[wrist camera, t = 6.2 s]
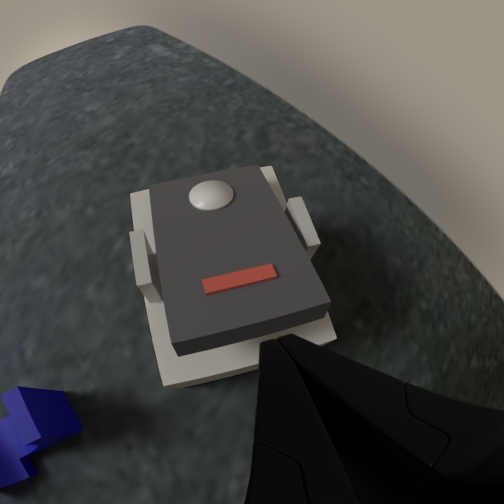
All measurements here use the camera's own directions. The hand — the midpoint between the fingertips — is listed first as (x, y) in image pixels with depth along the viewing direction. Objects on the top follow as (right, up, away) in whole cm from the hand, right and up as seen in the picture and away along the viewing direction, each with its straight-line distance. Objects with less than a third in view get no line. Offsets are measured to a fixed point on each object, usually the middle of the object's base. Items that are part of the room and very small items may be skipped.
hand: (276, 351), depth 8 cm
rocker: (-2, +3, +6) cm, 7 cm away
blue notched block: (-17, -12, +8) cm, 22 cm away
